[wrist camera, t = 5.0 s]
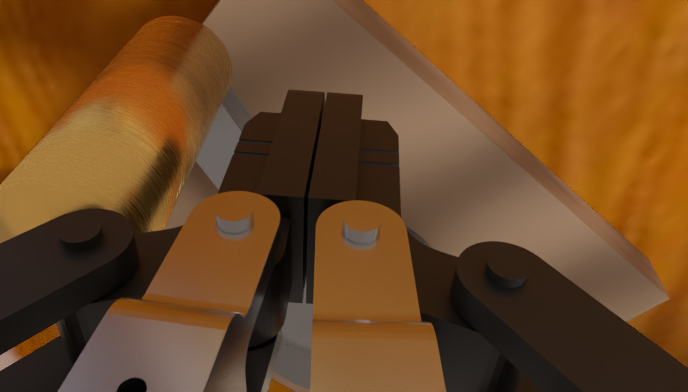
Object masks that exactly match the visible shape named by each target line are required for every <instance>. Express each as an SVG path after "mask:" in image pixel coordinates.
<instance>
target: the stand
mask: <svg viewBox="0 0 688 392" xmlns="http://www.w3.org/2000/svg"><path fill="white" fill-rule="evenodd" d="M202 24H203V25H205V26H206V27H208V28H209V29H210V30H211V31H213V32H214V33H215V34H216V35H217V36H218V37H219V38H220V40H221V41H222V42H223V44H224V45H225V47H226V49H227V51H228V53H229V56H230V59H231V62H232V74H233V75H232V81H231V85H230V86H231V88H232V89H233V91H234V92H235V94H236V95H237V97H238V98H239V100H240V101H241V103H242V104H243V105H244V107H245V108H246V110H247V111H248V113H249V114H250V116H251V117H252V118H253V117H254V116H256V115H257V114H258V113H259V112H272V113H281V111H282V108H283V105H284V101H285V98H286V95H287V92H288V90H289V89H291V90H304V91H317V92H325V101H326V96H327V92H332V93H345V94H359V95H363V103H362V117H361V119H366V120H379V121H388V122H389V124H390V125H391V126H392V128H393V129H394V130H395V132H396V133H397V134H398V136H399V167H400V197H401V217H402V220H403V221H404V223H405V225H406V226H407V227H408V228H410V229H411V230H413V231H415V232H416V233H417V234H418V235H419V236H421V237H422V238H423V239H424V240H425V241H426V242H427V243H428V244H429V245H430V247H431V248H432V249H435V250H438V251H441V252H444V253H447V254H450V255H453V256H456V257H459V256H460V254H461V253H462V252H463V251H464V250H465V249H466V248H468V247H469V246H471V245H474V244H476V243H480V242H487V241H500V242H506V243H511V244H514V245H517V246H520V247H523V248H525V249H527V250H529V251H531V252H532V253H534V254H535V255H537V256H538V257H540V258H541V259H542V260H544V261H545V262H546V263H548V264H549V265H550V266H552V267H553V268H554V269H556V270H557V271H558V272H560V273H561V274H562V275H564V276H565V277H566V278H568V279H569V280H570V281H572V282H573V283H575V284H576V285H577V286H579V287H580V288H581V289H583V290H584V291H585V292H587V293H588V294H589V295H591V296H592V297H593V298H595V299H596V300H597V301H599V302H600V303H601V304H603V305H604V306H605V307H607V308H608V309H609V310H611V311H612V312H613V313H615V314H616V315H617V316H619V317H620V318H621V319H623V320H624V321H625V322H627V321H629V320H631V319H633V318H635V317H637V316H639V315H640V314H642V313H644V312H646V311H648V310H650V309H652V308H653V307H655V306H657V305H659V304H661V303H663V302H665V301H667V300H668V299H670V298H669V296H668V294H667V292H666V290H665V288H664V287H663V285H662V283H661V281H660V279H659V277H658V276H657V274H656V272H655V270H654V268H653V266H652V264H651V263H650V261H649V259H647V258H646V257H645V256H644V255H643V254H642V253H641V252H640V251H639V250H638V249H636V248H635V247H634V246H633V245H632V244H631V243H630V242H629V241H628V240H627V239H625V238H624V237H623V236H622V235H621V234H620V233H619V232H618V231H617V230H615V229H614V228H613V227H612V226H611V225H610V224H609V223H608V222H607V221H606V220H604V219H603V218H602V217H601V216H600V215H599V214H598V213H597V212H596V211H595V210H593V209H592V208H591V207H590V206H589V205H588V204H587V203H586V202H585V201H583V200H582V199H581V198H580V197H579V196H578V195H577V194H576V193H575V192H574V191H572V190H571V189H570V188H569V187H568V186H567V185H566V184H565V183H564V182H563V181H561V180H560V179H559V178H558V177H557V176H556V175H555V174H554V173H553V172H551V171H550V170H549V169H548V168H547V167H546V166H545V165H544V164H543V163H542V162H540V161H539V160H538V159H537V158H536V157H535V156H534V155H533V154H532V153H531V152H529V151H528V150H527V149H526V148H525V147H524V146H523V145H522V144H521V143H519V142H518V141H517V140H516V139H515V138H514V137H513V136H512V135H511V134H510V133H508V132H507V131H506V130H505V129H504V128H503V127H502V126H501V125H500V124H499V123H497V122H496V121H495V120H494V119H493V118H492V117H491V116H490V115H489V114H487V113H486V112H485V111H484V110H483V109H482V108H481V107H480V106H479V105H478V104H476V103H475V102H474V101H473V100H472V99H471V98H470V97H469V96H468V95H467V94H465V93H464V92H463V91H462V90H461V89H460V88H459V87H458V86H457V85H455V84H454V83H453V82H452V81H451V80H450V79H449V78H448V77H447V76H446V75H444V74H443V73H442V72H441V71H440V70H439V69H438V68H437V67H436V66H435V65H433V64H432V63H431V62H430V61H429V60H428V59H427V58H426V57H425V56H423V55H422V54H421V53H420V52H419V51H418V50H417V49H416V48H415V47H414V46H412V45H411V44H410V43H409V42H408V41H407V40H406V39H405V38H404V37H403V36H401V35H400V34H399V33H398V32H397V31H396V30H395V29H394V28H393V27H391V26H390V25H389V24H388V23H387V22H386V21H385V20H384V19H383V18H382V17H380V16H379V15H378V14H377V13H376V12H375V11H374V10H373V9H372V8H371V7H369V6H368V5H367V4H366V3H365V2H364V1H363V0H219V1H218V2H217V3H216V5H215V6H214V8H213V9H212V10H211V12H210V13H209V14H208V16H207V17H206V18H205V20H204V21H203V22H202ZM218 191H219V190H218V189H217V187H216V186H215V185H214V183H213V182H212V181H211V180H210V178H209V177H208V176H207V174H206V173H205V172H204V171H203V169H202V168H201V167H200V166H199V164H198V163H197V162H196V161H195V163H194V165H193V168H192V170H191V172H190V174H189V176H188V178H187V181H186V183H185V185H184V187H183V189H182V191H181V194H180V196H179V198H178V200H177V202H176V204H175V207H174V209H173V211H172V213H171V215H170V217H169V220H168V222H167V224H166V226H165V228H164V230H165V229H171V228H175V227H179V226H182V225H184V223H185V222H186V220H187V218H188V216H189V215H190V213H191V211H192V210H193V209H194V207H195V206H196V205H197V204H198V203H200V202H201V201H203V200H204V199H206V198H208V197H210V196H213V195H216V194H217V193H218ZM271 379H273V380H275V381H276V382H278V383H280V384H282V385H284V386H286V387H288V388H289V389H291V390H293V391H295V392H310V389H307V388H304V387H301V386H299V385H296V384H294V383H292V382H290V381H288V380H286V379H285V378H283V377H281V376H280V375H278V374H277V373H275V372H274V371H273V374H272V378H271Z"/></svg>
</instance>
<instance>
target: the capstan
mask: <svg viewBox="0 0 688 392" xmlns="http://www.w3.org/2000/svg"><path fill="white" fill-rule="evenodd" d="M232 75H233V74H232V62H231V59H230V56H229V53H228V51H227V49H226V47H225V45H224V44H223V42H222V41H221V40H220V38H219V37H218V36H217V35H216V34H215V33H214V32H213V31H211V30H210V29H209V28H208V27H206V26H205V25H203V24H201V23H199V22H198V21H195V20H193V19H190V18H187V17H183V16H162V17H158V18H155V19H153V20H151V21H149V22H147V23H146V24H145V25H144V26H142V27H141V28H140V29H139V31H138V32H137V33H136V34H135V35H134V36H133V37H132V38H131V39H130V41H129V42H128V43H127V44H126V45H125V46H124V47H123V48H122V49H121V51H120V52H119V53H118V54H117V55H116V56H115V57H114V58H113V60H112V61H111V62H110V63H109V64H108V65H107V66H106V67H105V68H104V70H103V71H102V72H101V73H100V74H99V75H98V76H97V77H96V78H95V80H94V81H93V82H92V83H91V84H90V85H89V86H88V87H87V89H86V90H85V91H84V92H83V93H82V94H81V95H80V96H79V97H78V99H77V100H76V101H75V102H74V103H73V104H72V105H71V106H70V107H69V109H68V110H67V111H66V112H65V113H64V114H63V115H62V116H61V117H60V119H59V120H58V121H57V122H56V123H55V124H54V125H53V126H52V128H51V129H50V130H49V131H48V132H47V133H46V134H45V135H44V136H43V138H42V139H41V140H40V141H39V142H38V143H37V144H36V145H35V146H34V148H33V149H32V150H31V151H30V152H29V153H28V154H27V155H26V157H25V158H24V159H23V160H22V161H21V162H20V163H19V164H18V165H17V167H16V168H15V169H14V170H13V171H12V172H11V173H10V174H9V175H8V177H7V178H6V179H5V180H4V181H3V182H2V183H1V184H0V243H2V242H4V241H6V240H9V239H11V238H13V237H15V236H17V235H19V234H22V233H24V232H26V231H28V230H30V229H33V228H35V227H37V226H39V225H41V224H43V223H46V222H48V221H50V220H52V219H54V218H57V217H59V216H61V215H64V214H66V213H70V212H73V211H77V210H83V209H108V210H112V211H115V212H118V213H120V214H122V215H123V216H125V217H126V218H127V219H128V220H129V221H130V223H131V224H132V228H133V232H134V234H137V233H144V232H151V231H159V230H164V228H165V226H166V224H167V222H168V220H169V217H170V215H171V213H172V211H173V209H174V207H175V204H176V202H177V200H178V198H179V196H180V194H181V191H182V189H183V187H184V185H185V183H186V181H187V178H188V176H189V174H190V172H191V170H192V168H193V165H194V163H195V161H196V162H197V163H198V164H199V166H200V167H201V168H202V169H203V171H204V172H205V173H206V174H207V176H208V177H209V178H210V180H211V181H212V182H213V183H214V185H215V186H216V187H217V189H218V190H219V188H220V186H221V183H222V181H223V178H224V176H225V173H226V171H227V168H228V165H229V163H230V160H231V158H232V155H234V150H235V148H236V145H237V143H238V142H239V138H240V135H241V132H242V130H243V127H244V125H245V123H247V122H248V121H249V120H250V119H252V117H251V116H250V114H249V113H248V111H247V110H246V108H245V107H244V105H243V104H242V103H241V101H240V100H239V98H238V97H237V95H236V94H235V92H234V91H233V89H232V88H231V86H230V85H231V81H232ZM406 229H407V231H408V232H409V233H410V234H411V235H412V236H413V237H414V238H415V239H417V240H418V241H420V242H421V243H423V244H424V245H426V246H428V247H430V245H429V244H428V243H427V242H426V241H425V240H424V239H423V238H422V237H421V236H419V235H418V234H417V233H416V232H415V231H413V230H411V229H410V228H408V227H407V226H406ZM430 248H431V247H430ZM312 321H313V304H306V284H305V290H304V296H303V303H291V302H288V308H287V313H286V319H285V322H284V325H283V327H282V342H281V345H280V349H279V352H278V356H277V360H276V363H275V367H274V370H273V371H274V372H275V373H277V374H278V375H280V376H281V377H283V378H285V379H286V380H288V381H290V382H292V383H294V384H296V385H299V386H301V387H304V388H307V389H310V378H311V349H312Z"/></svg>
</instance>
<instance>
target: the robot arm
mask: <svg viewBox="0 0 688 392" xmlns="http://www.w3.org/2000/svg"><path fill="white" fill-rule="evenodd" d="M362 103H363V95H359V94H345V93H332V92H327V96H326V101H325V92H317V91H304V90H291V89H289V90H288V92H287V95H286V98H285V101H284V105H283V108H282V111H281V113H272V112H259V113H258V114H257V115H256V116H254V117H253V118H252V119H250V120H249V121H248V122H247V123H245V125H244V127H243V130H242V132H241V135H240V138H239V142H238V143H237V145H236V148H235V150H234V155H232V158H231V160H230V163H229V165H228V168H227V171H226V173H225V176H224V178H223V181H222V183H221V186H220V188H219V191H218V193H217V194H216V195H213V196H210V197H208V198H206V199H204V200H203V201H201V202H200V203H198V204H197V205H196V206H195V207H194V209H193V210H192V211H191V213H190V215H189V216H188V218H187V220H186V222H185V223H184V225H182V226H179V227H175V228H171V229H165V230H159V231H151V232H144V233H137V234H134V232H133V228H132V224H131V223H130V221H129V220H128V219H127V218H126V217H125V216H123V215H122V214H120V213H118V212H115V211H112V210H108V209H83V210H77V211H73V212H70V213H66V214H64V215H61V216H59V217H57V218H54V219H52V220H50V221H48V222H46V223H43V224H41V225H39V226H37V227H35V228H33V229H30V230H28V231H26V232H24V233H22V234H19V235H17V236H15V237H13V238H11V239H9V240H6V241H4V242H2V243H0V355H1V354H3V353H5V352H6V351H8V350H10V349H12V348H13V347H15V346H17V345H18V344H20V343H22V342H24V341H25V340H27V339H29V338H31V337H32V336H34V335H36V334H38V333H39V332H41V331H43V330H45V329H46V328H48V327H50V326H51V325H53V324H55V323H56V324H57V327H58V330H59V333H60V335H61V336H59V337H57V338H55V339H54V340H52V341H50V342H49V343H47V344H45V345H44V346H42V347H40V348H39V349H37V350H35V351H33V352H32V353H30V354H28V355H27V356H25V357H23V358H22V359H20V360H18V361H17V362H15V363H13V364H12V365H10V366H8V367H6V368H5V369H3V370H1V371H0V392H268V388H269V385H270V381H271V378H272V374H273V370H274V367H275V363H276V360H277V356H278V352H279V349H280V345H281V342H282V327H283V325H284V322H285V319H286V313H287V308H288V302H291V303H303V296H304V290H305V284H306V304H313V321H312V349H311V378H310V392H688V368H687V367H686V366H684V365H683V364H682V363H680V362H679V361H678V360H676V359H675V358H674V357H672V356H671V355H670V354H668V353H667V352H666V351H664V350H663V349H662V348H660V347H659V346H658V345H656V344H655V343H654V342H652V341H651V340H649V339H648V338H647V337H645V336H644V335H643V334H641V333H640V332H639V331H637V330H636V329H635V328H633V327H632V326H631V325H629V324H628V323H627V322H625V321H624V320H623V319H621V318H620V317H619V316H617V315H616V314H615V313H613V312H612V311H611V310H609V309H608V308H607V307H605V306H604V305H603V304H601V303H600V302H599V301H597V300H596V299H595V298H593V297H592V296H591V295H589V294H588V293H587V292H585V291H584V290H583V289H581V288H580V287H579V286H577V285H576V284H575V283H573V282H572V281H570V280H569V279H568V278H566V277H565V276H564V275H562V274H561V273H560V272H558V271H557V270H556V269H554V268H553V267H552V266H550V265H549V264H548V263H546V262H545V261H544V260H542V259H541V258H540V257H538V256H537V255H535V254H534V253H532V252H531V251H529V250H527V249H525V248H523V247H520V246H517V245H514V244H511V243H506V242H500V241H487V242H480V243H476V244H474V245H471V246H469V247H468V248H466V249H465V250H464V251H463V252H462V253H461V254H460V256H459V257H456V256H453V255H450V254H447V253H444V252H441V251H438V250H435V249H432V248H430V247H428V246H426V245H424V244H423V243H421V242H420V241H418V240H417V239H415V238H414V237H413V236H412V235H411V234H410V233H409V232H408V231H407V229H406V225H405V223H404V221H403V220H402V217H401V197H400V167H399V136H398V134H397V133H396V132H395V130H394V129H393V128H392V126H391V125H390V124H389V122H388V121H379V120H366V119H361V117H362Z"/></svg>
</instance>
